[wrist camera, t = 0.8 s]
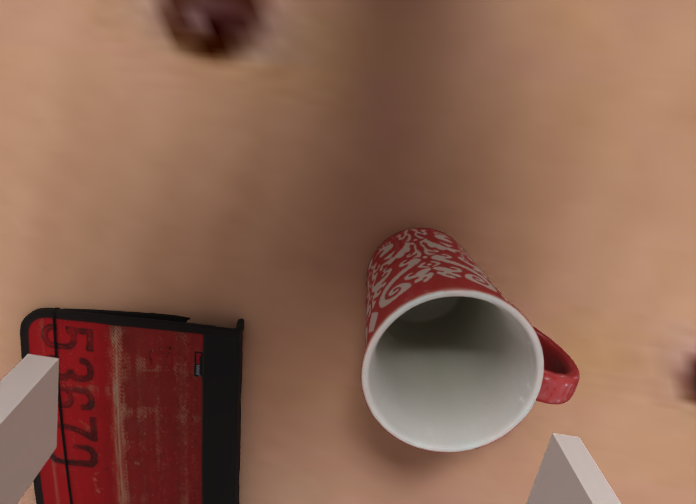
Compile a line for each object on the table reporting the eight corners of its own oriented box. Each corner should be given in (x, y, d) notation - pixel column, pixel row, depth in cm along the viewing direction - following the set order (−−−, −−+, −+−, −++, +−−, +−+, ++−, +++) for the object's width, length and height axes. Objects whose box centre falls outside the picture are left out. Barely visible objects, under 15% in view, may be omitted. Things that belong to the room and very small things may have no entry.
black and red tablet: (240, 329, 39) (235, 563, 46) (246, 315, 42) (241, 539, 48) (8, 311, 39) (37, 547, 46) (27, 297, 42) (52, 525, 48)
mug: (333, 310, 41) (333, 424, 28) (380, 195, 39) (404, 264, 26) (491, 364, 43) (558, 493, 30) (546, 257, 40) (645, 350, 27)
